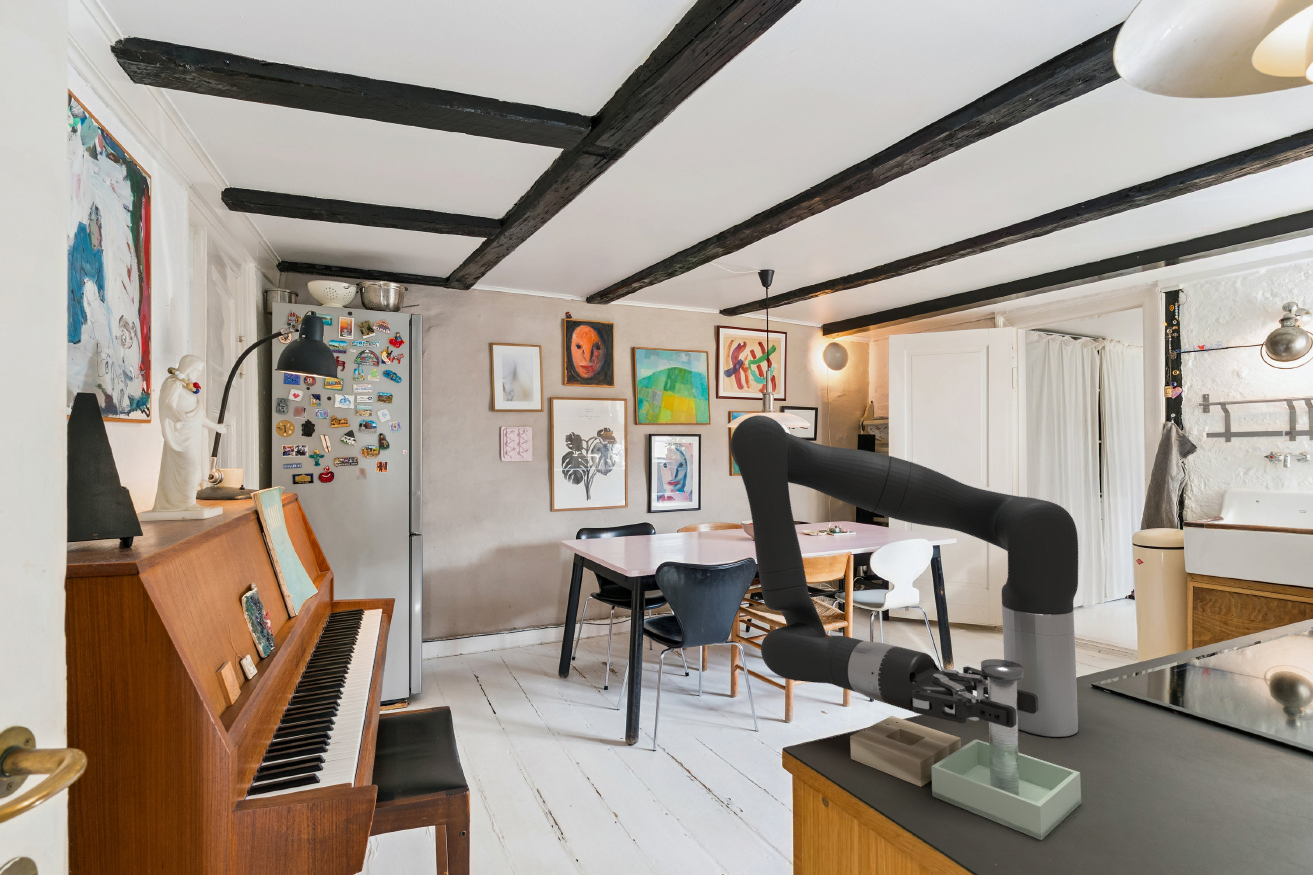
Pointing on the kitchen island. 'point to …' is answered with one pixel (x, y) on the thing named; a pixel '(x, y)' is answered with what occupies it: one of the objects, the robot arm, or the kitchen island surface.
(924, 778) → the socket block
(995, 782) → the steel pin
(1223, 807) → the kitchen island surface
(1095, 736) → the kitchen island surface
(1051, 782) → the green tray
